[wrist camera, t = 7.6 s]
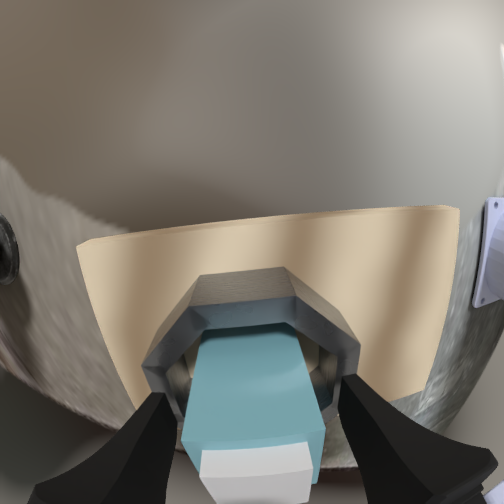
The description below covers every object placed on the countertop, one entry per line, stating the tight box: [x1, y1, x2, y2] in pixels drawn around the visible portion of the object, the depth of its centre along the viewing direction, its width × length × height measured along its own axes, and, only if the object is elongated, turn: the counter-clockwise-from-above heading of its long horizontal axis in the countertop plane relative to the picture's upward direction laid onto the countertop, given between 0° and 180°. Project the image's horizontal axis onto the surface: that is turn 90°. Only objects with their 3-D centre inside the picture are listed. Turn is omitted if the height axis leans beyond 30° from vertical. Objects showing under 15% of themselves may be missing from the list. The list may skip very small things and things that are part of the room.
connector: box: [181, 322, 326, 504], centre depth 10 cm, size 4×4×8 cm
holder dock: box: [76, 205, 460, 430], centre depth 13 cm, size 20×13×4 cm, turn 96°
